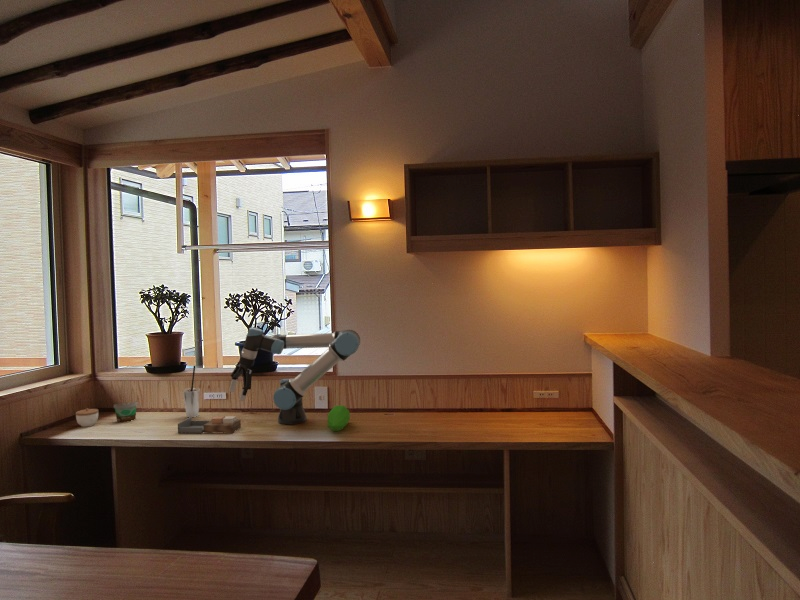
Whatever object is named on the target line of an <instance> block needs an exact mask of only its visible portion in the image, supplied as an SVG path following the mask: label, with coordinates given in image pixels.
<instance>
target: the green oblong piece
mask: <svg viewBox="0 0 800 600" xmlns="http://www.w3.org/2000/svg"><path fill="white" fill-rule="evenodd" d="M350 417H351V416H350V410H349V409H348V408H347V407H346V406H345V405H334V406H333V407H332V408H331V410H330V411H329V412H328V414H327V427H328V428H330V430H331V431H333V432H334V431H337V432H339V431H341V430H343V429H344V428H345V427H346V426H347V425H348V424H349V421H350V419H351V418H350ZM342 428H343V429H342Z"/></svg>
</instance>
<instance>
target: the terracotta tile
mask: <svg viewBox="0 0 800 600" xmlns="http://www.w3.org/2000/svg"><path fill="white" fill-rule="evenodd" d="M225 417H226V416H224V415H216V416H214V417H212V418H211V420H212V424H221V423H223V418H225Z"/></svg>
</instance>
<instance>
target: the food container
mask: <svg viewBox="0 0 800 600" xmlns="http://www.w3.org/2000/svg"><path fill="white" fill-rule="evenodd" d="M138 405H139V403H138V401H137V400H136V401H135V402H125V403H121V404H118V403H117V404H115V403H114V404H113V409H114V412H115V417H116V422H118V423H127V421H129V422H132V421H131V420H133V421H135V420H136V417H137V406H138ZM134 419H135V420H134Z"/></svg>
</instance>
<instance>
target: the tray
mask: <svg viewBox="0 0 800 600" xmlns="http://www.w3.org/2000/svg"><path fill="white" fill-rule="evenodd" d="M209 421H210V420H193V419H192V417H189V418H187V417H186V418H185V419H183V420H182V421H180V422H179V423H177V434H198V433H202V434H204V433H203V432H204V426H203V425H204V424H206V423H208V422H209Z"/></svg>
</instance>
